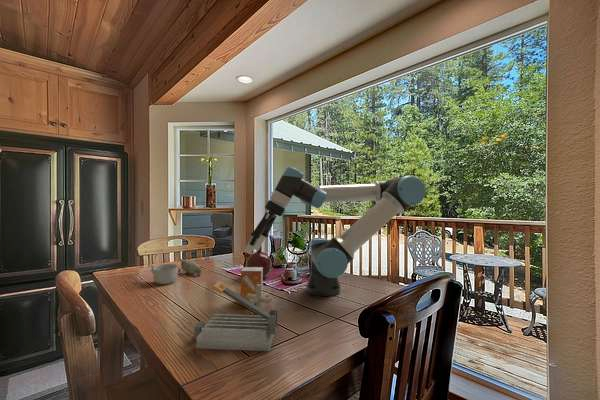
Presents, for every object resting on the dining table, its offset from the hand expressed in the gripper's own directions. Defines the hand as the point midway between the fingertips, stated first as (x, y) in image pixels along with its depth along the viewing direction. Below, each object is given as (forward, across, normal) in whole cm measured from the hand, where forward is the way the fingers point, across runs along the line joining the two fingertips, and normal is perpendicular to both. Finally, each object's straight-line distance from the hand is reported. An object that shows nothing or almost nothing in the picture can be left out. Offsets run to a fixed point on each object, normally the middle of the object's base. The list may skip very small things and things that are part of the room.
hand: (251, 251), depth 114 cm
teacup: (+39, -24, -34) cm, 57 cm away
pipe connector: (+16, +8, +14) cm, 23 cm away
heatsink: (+18, +28, +14) cm, 36 cm away
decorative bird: (+35, -40, -30) cm, 61 cm away
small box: (+18, -3, +10) cm, 21 cm away
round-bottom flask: (+18, -38, +4) cm, 42 cm away
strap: (+9, +29, +10) cm, 32 cm away
